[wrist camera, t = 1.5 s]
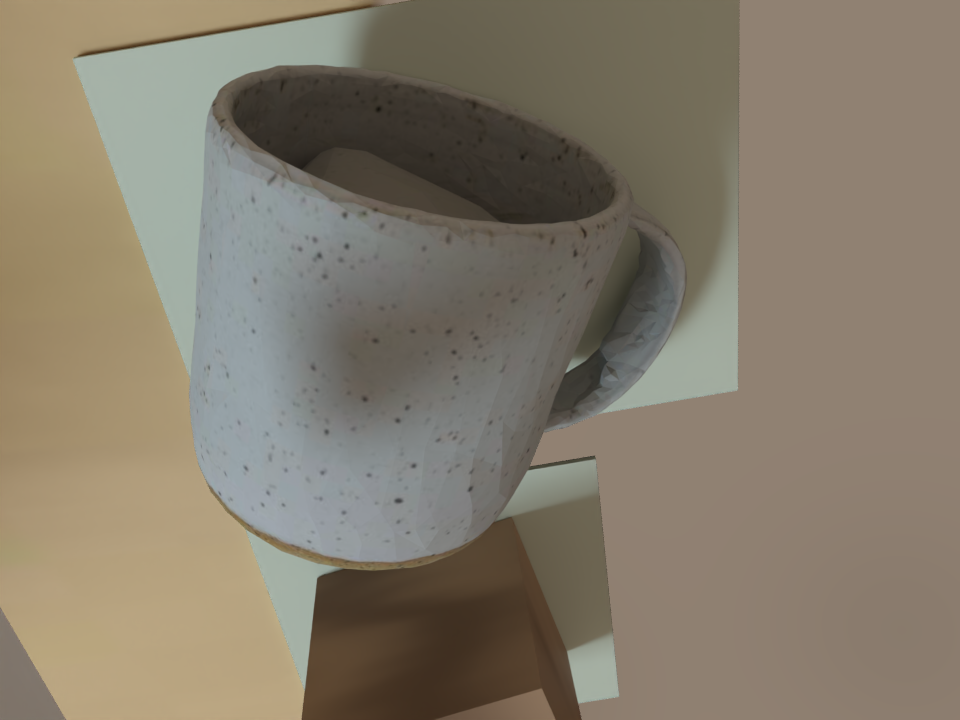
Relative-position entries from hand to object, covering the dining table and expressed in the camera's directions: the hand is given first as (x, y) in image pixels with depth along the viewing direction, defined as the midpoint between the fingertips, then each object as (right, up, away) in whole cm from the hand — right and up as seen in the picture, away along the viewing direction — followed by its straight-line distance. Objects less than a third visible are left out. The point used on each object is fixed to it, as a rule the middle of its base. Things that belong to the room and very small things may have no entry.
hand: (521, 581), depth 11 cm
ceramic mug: (-1, +6, +10) cm, 11 cm away
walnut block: (-1, -5, +16) cm, 17 cm away
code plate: (-1, +6, +10) cm, 11 cm away
